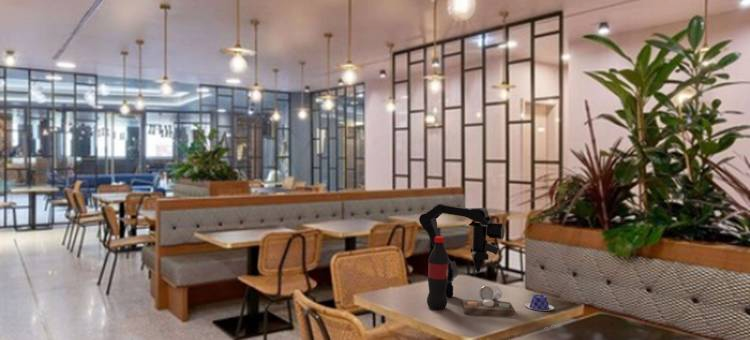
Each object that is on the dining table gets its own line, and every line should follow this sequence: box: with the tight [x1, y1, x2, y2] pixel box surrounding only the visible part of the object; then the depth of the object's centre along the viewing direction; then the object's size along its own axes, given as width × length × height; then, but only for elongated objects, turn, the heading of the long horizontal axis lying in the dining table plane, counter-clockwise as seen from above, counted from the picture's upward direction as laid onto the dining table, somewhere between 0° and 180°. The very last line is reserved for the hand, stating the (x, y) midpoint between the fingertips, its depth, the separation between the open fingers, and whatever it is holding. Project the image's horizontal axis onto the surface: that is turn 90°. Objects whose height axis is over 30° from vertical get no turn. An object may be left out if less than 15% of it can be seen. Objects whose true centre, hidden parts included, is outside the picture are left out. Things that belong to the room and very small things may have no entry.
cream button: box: [482, 299, 495, 307], centre depth 220 cm, size 4×4×3 cm
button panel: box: [461, 299, 516, 318], centre depth 221 cm, size 20×12×2 cm, turn 85°
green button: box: [498, 303, 510, 308], centre depth 220 cm, size 4×4×3 cm
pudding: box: [524, 294, 555, 312], centre depth 228 cm, size 12×12×5 cm
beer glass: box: [478, 284, 503, 301], centre depth 232 cm, size 7×7×15 cm
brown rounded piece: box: [467, 301, 478, 306], centre depth 221 cm, size 4×4×3 cm
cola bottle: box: [426, 235, 449, 311], centre depth 222 cm, size 8×8×30 cm
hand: (478, 272), depth 234 cm, fingers closed
